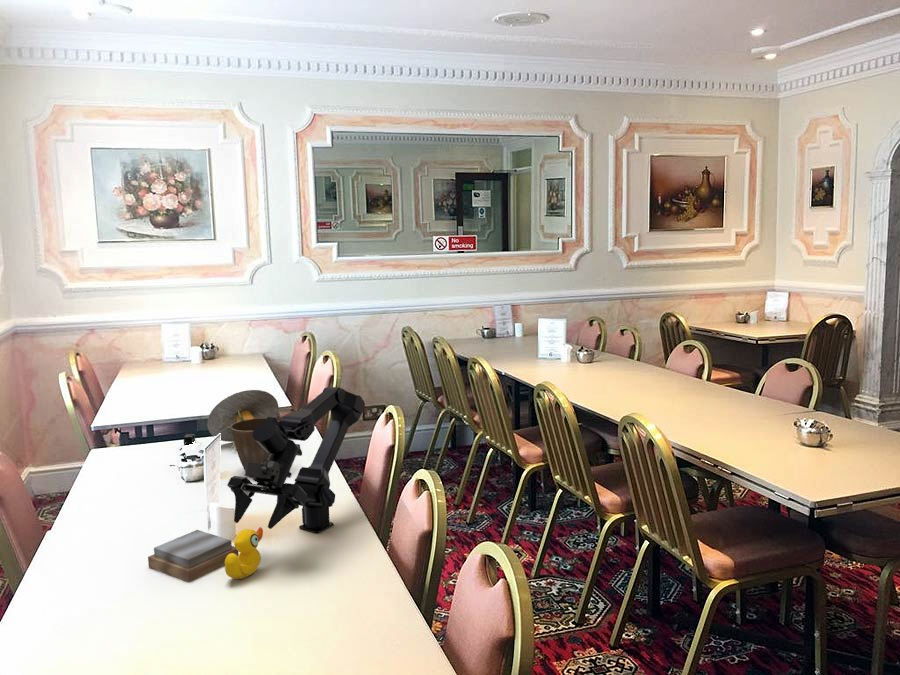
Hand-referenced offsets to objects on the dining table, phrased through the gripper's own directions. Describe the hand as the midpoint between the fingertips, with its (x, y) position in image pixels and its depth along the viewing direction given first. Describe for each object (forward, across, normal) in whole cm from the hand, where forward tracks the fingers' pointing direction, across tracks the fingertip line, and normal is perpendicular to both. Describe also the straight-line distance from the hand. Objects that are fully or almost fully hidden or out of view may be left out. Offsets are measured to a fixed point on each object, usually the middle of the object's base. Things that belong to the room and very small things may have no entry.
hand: (252, 525), depth 170 cm
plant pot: (-32, -40, +46) cm, 69 cm away
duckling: (+10, 0, +5) cm, 11 cm away
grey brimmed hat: (-48, -62, +62) cm, 100 cm away
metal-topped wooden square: (+9, -15, +6) cm, 18 cm away
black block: (-43, -82, +58) cm, 110 cm away
